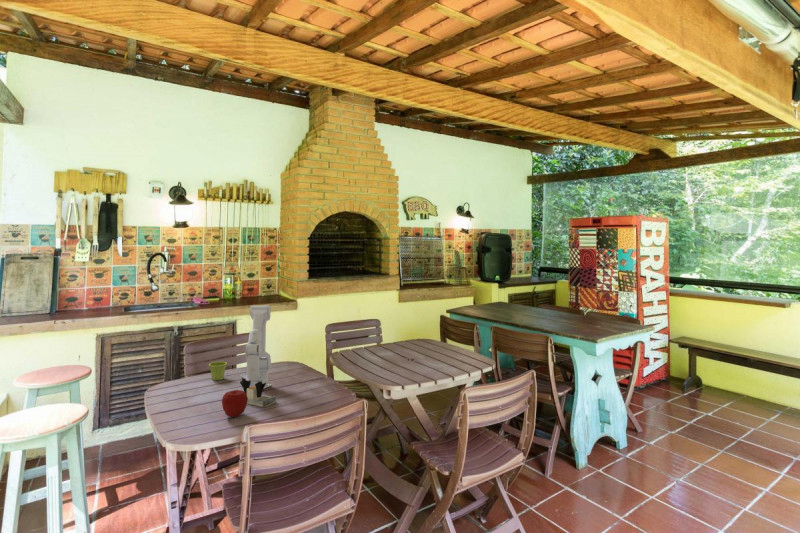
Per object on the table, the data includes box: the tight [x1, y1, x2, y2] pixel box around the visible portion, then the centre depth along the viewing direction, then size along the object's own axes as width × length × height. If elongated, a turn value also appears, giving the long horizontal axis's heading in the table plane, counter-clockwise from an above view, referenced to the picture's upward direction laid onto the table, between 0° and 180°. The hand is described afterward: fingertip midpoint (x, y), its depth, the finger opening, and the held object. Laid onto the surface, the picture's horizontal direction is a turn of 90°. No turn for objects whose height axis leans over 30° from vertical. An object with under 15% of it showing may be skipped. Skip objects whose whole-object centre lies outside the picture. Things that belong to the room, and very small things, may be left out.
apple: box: [221, 389, 248, 418], centre depth 184 cm, size 11×11×12 cm
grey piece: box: [247, 394, 277, 409], centre depth 201 cm, size 15×8×3 cm, turn 66°
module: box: [247, 386, 260, 400], centre depth 202 cm, size 4×4×6 cm
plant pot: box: [208, 361, 228, 381], centre depth 236 cm, size 9×9×9 cm
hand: (253, 395), depth 202 cm, fingers open, 7 cm apart
